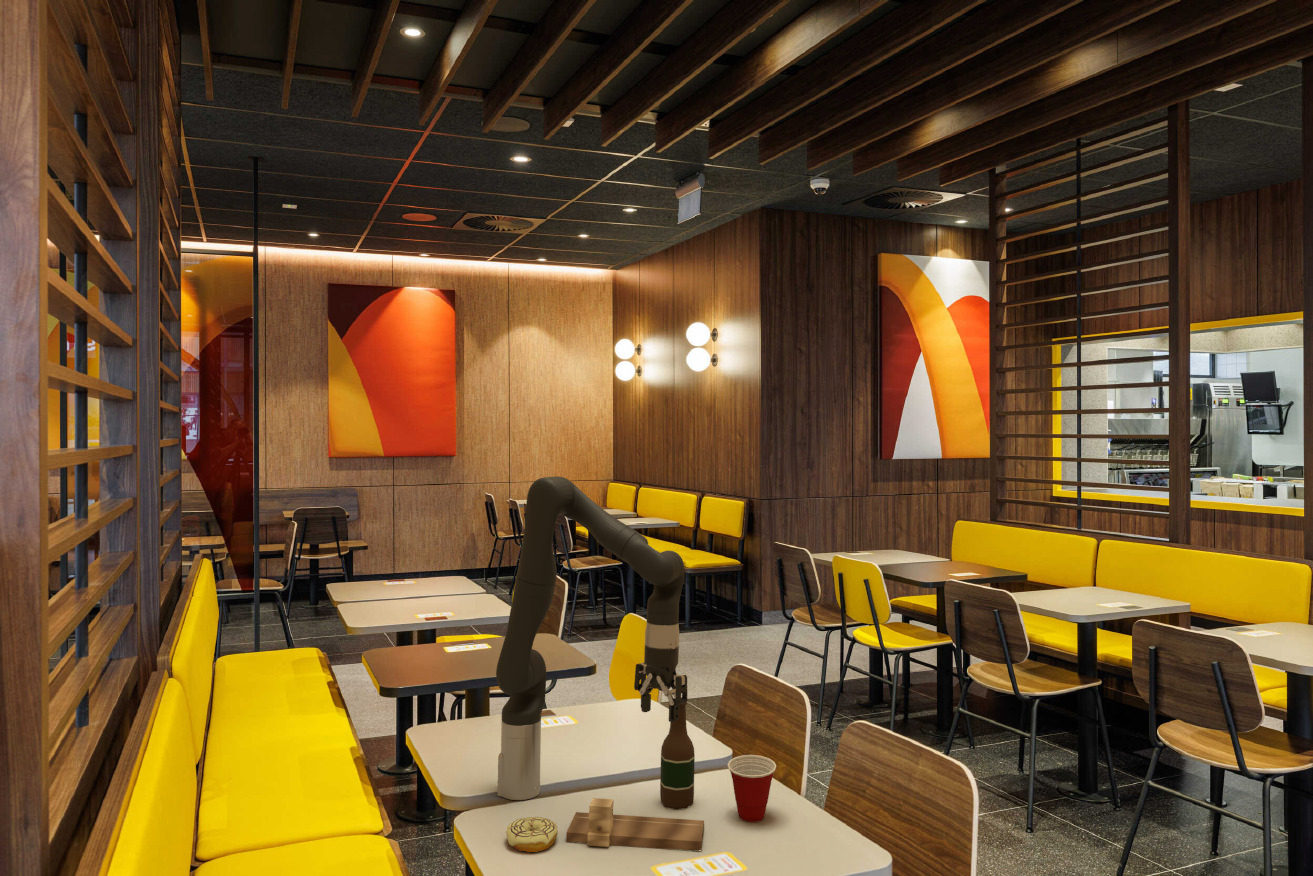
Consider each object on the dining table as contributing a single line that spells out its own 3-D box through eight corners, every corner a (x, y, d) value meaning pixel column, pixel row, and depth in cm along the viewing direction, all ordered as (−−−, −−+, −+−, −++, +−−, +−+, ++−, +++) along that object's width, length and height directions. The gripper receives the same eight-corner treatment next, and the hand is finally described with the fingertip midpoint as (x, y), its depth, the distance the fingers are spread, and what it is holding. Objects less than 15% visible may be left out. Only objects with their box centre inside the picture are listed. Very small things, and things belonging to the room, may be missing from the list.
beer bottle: (694, 797, 208) (696, 695, 208) (692, 811, 200) (694, 705, 200) (661, 795, 209) (663, 693, 209) (658, 809, 201) (660, 703, 201)
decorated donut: (503, 855, 178) (503, 837, 178) (508, 831, 189) (509, 814, 189) (555, 854, 179) (556, 836, 179) (558, 831, 190) (558, 813, 190)
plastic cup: (718, 821, 195) (719, 766, 195) (737, 803, 205) (738, 751, 205) (765, 832, 190) (766, 776, 190) (782, 813, 200) (783, 760, 200)
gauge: (587, 845, 182) (588, 808, 182) (595, 825, 191) (596, 789, 191) (608, 847, 181) (609, 809, 181) (616, 826, 191) (616, 791, 191)
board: (566, 842, 184) (566, 832, 184) (575, 821, 194) (576, 812, 194) (701, 851, 181) (701, 841, 181) (703, 829, 191) (704, 820, 191)
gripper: (627, 639, 197) (624, 711, 197) (673, 652, 187) (670, 728, 187) (651, 634, 203) (649, 705, 203) (697, 646, 192) (694, 721, 193)
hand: (659, 716), depth 195 cm, fingers open, 8 cm apart
